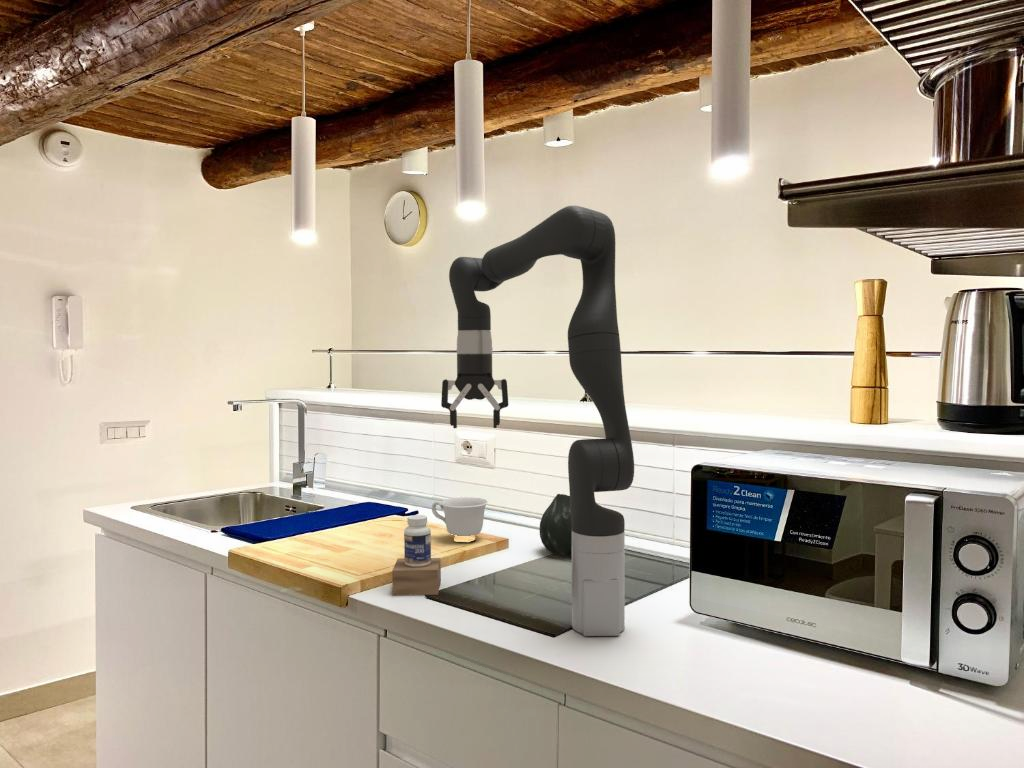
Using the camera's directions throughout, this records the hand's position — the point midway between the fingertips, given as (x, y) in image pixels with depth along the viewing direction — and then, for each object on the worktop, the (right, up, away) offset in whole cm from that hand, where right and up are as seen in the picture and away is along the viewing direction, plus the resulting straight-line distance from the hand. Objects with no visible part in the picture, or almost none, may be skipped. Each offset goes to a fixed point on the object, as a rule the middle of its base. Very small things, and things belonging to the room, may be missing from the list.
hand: (475, 427), depth 168 cm
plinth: (-12, -33, -7) cm, 35 cm away
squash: (+22, -31, +20) cm, 43 cm away
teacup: (-6, -31, +33) cm, 46 cm away
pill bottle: (-11, -28, -7) cm, 31 cm away
